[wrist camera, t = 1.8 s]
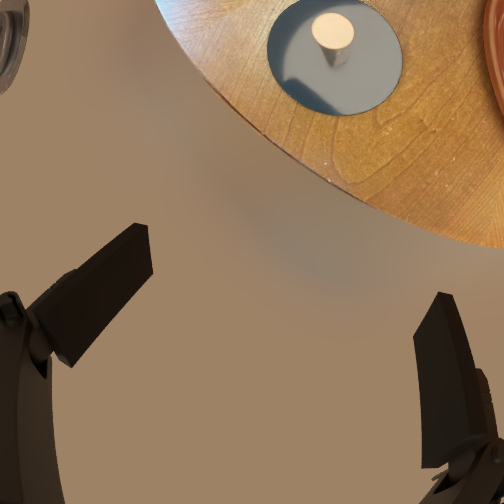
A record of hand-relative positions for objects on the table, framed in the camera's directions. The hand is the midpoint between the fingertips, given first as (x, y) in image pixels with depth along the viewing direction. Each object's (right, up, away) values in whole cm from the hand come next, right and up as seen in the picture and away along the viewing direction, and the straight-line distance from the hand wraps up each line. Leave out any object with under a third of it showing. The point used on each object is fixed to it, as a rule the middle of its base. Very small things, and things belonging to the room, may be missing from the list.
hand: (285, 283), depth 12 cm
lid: (+6, +19, +8) cm, 22 cm away
